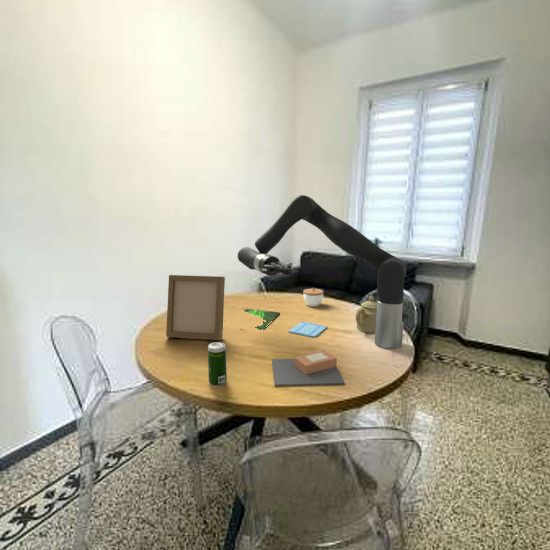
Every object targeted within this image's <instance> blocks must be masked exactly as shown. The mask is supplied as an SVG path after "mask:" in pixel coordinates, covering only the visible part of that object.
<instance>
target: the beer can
mask: <svg viewBox="0 0 550 550" xmlns="http://www.w3.org/2000/svg"><path fill="white" fill-rule="evenodd" d="M227 368H228V367H227V347H226V344H225V343H224V342H220V341H219V342H218V341H217V342H211V343H209V344H208V346H207V369H208V371H207V373H208V382H209V385H212V387H214V386H215V387H214V388H217V387H219V386H220V387H222V386H225V385H226V383H227V381H228V373H227V372H228V371H227V370H228V369H227ZM224 384H225V385H224Z"/></svg>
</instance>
